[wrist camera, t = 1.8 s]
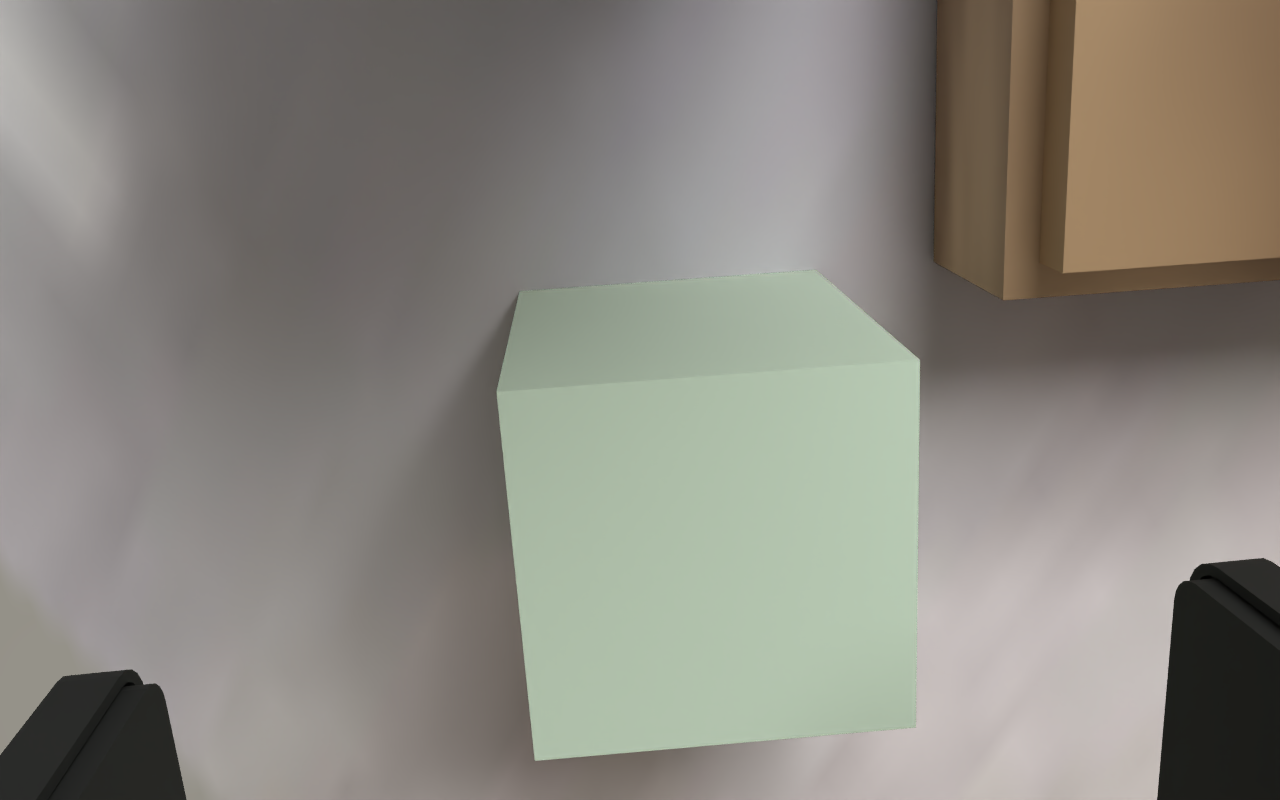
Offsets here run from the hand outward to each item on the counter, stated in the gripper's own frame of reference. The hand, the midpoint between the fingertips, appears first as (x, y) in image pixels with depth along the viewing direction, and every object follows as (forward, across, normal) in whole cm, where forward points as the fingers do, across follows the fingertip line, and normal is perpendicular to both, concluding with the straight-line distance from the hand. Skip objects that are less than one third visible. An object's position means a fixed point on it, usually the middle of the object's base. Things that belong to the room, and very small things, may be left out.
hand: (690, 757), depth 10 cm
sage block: (+10, -1, 0) cm, 10 cm away
